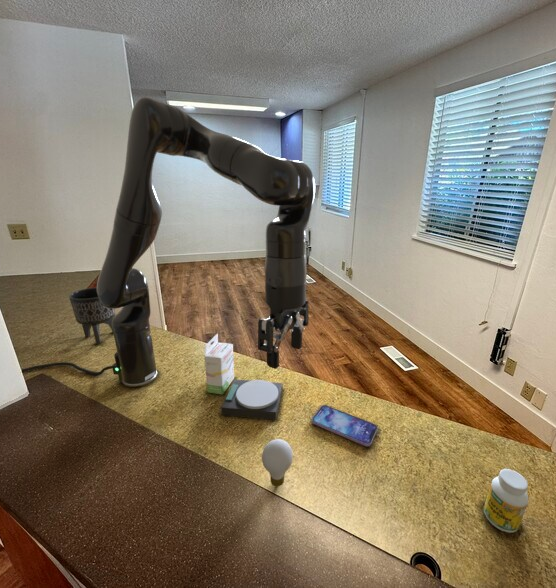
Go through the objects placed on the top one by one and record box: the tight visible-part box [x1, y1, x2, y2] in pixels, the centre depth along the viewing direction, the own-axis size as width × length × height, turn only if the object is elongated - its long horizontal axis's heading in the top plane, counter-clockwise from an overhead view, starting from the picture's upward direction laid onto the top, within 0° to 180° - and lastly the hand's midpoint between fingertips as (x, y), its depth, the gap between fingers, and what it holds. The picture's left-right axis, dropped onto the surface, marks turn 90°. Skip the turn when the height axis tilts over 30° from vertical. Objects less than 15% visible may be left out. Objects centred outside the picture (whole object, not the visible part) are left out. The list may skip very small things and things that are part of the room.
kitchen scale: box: [220, 378, 283, 421], centre depth 82 cm, size 14×12×3 cm
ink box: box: [204, 333, 235, 395], centre depth 86 cm, size 9×5×15 cm, turn 168°
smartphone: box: [311, 404, 378, 447], centre depth 75 cm, size 7×1×15 cm
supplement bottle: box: [483, 468, 529, 533], centre depth 53 cm, size 5×5×10 cm
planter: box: [68, 287, 116, 346], centre depth 111 cm, size 13×13×18 cm
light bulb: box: [261, 438, 294, 488], centre depth 58 cm, size 6×6×10 cm
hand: (285, 356), depth 61 cm, fingers open, 8 cm apart
